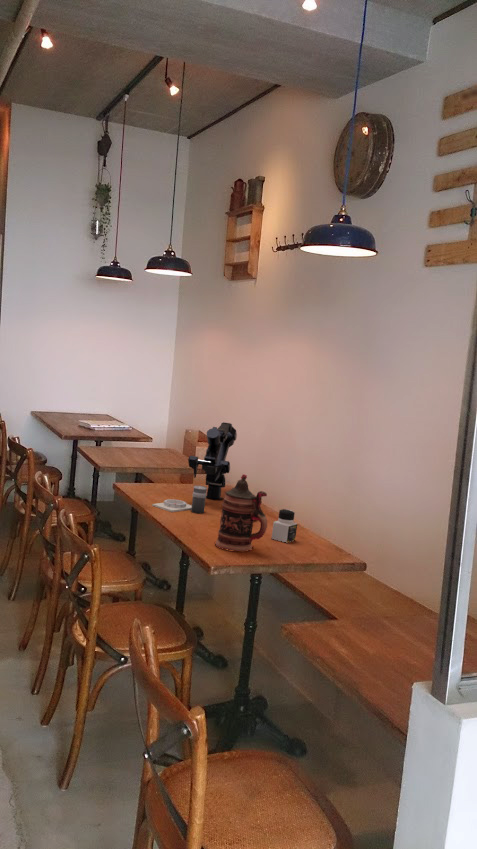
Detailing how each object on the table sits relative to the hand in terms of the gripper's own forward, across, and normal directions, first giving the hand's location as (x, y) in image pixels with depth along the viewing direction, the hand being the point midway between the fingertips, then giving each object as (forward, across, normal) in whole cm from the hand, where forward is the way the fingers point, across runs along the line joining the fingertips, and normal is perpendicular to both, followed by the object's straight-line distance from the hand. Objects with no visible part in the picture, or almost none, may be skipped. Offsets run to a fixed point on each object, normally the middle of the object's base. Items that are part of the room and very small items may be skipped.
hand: (204, 479), depth 328 cm
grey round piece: (+14, 0, -4) cm, 15 cm away
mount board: (+14, +11, -5) cm, 18 cm away
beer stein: (+48, -26, +28) cm, 61 cm away
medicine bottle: (+31, -41, +12) cm, 53 cm away
